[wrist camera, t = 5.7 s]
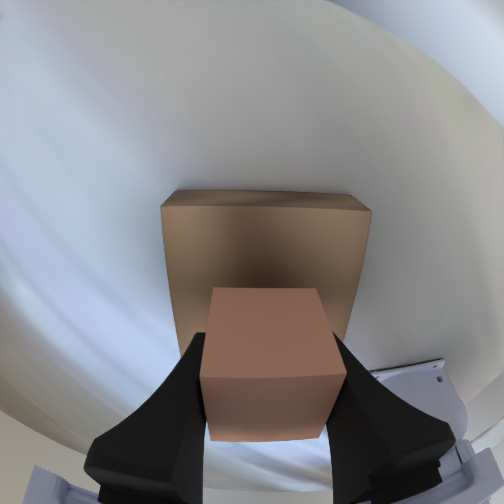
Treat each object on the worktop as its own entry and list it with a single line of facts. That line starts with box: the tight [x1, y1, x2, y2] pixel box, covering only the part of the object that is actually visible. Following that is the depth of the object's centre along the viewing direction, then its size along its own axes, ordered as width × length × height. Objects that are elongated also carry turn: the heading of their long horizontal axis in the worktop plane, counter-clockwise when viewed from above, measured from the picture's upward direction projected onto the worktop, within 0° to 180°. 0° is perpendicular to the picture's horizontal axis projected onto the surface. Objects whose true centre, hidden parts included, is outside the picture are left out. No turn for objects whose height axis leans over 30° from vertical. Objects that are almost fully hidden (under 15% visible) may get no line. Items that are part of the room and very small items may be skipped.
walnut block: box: [160, 190, 372, 357], centre depth 16 cm, size 10×10×4 cm
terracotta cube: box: [200, 287, 347, 442], centre depth 11 cm, size 4×4×5 cm
